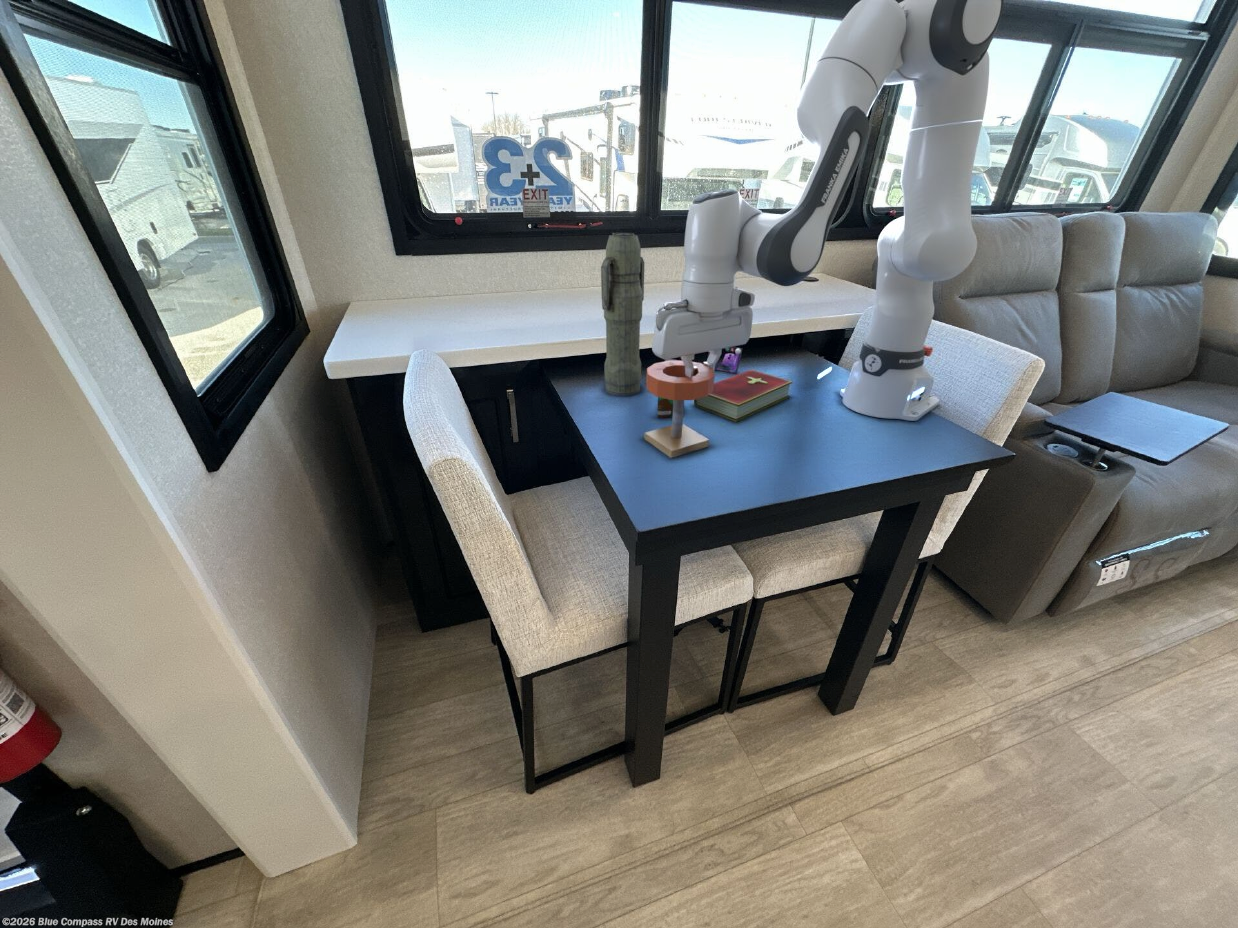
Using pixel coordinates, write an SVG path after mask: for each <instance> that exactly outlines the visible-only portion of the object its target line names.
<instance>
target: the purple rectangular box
mask: <svg viewBox="0 0 1238 928" xmlns="http://www.w3.org/2000/svg"><path fill="white" fill-rule="evenodd" d="M724 350H725V352H728V353H725V354H724V357H723V359H722V360H721V359H720V358H721V356H720V357H719V359H718V361H717V362H716V364H715V370H716V371H721V372H727V373H731V374H738V370H739V366H740V362H741V358H742V353H743V348H742V347H737V346H733V347H728V348H724ZM729 352H730V353H729ZM734 353H735V354H734ZM709 355H710V352H708V354H707V359H708V357H709ZM707 359H706V360H707ZM720 360H721V361H722V362H721V363H720ZM719 364H722V365H723V367H728V368H729V367H731V368H730V370H728V369H722V368H718V367H719Z"/></svg>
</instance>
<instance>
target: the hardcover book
mask: <svg viewBox="0 0 1238 928" xmlns="http://www.w3.org/2000/svg"><path fill="white" fill-rule="evenodd" d="M791 384H793V380H789V379H786V378H783V377H779V376H775V375H772V374H769V373H765V372H762V371H758V370H754V369H749V370H746V371H742V372H740V373H736V374H734V375H732V376H730V377H727V378H724V379H722V380H719V381H716V382H714V388H713V391H712V392H711V393H710V394H709V395H708V396H707V397H703V398H699V399H695V400H693V404H694V407H696V408H699V409H701V410H704V411H706V412H709V413H712V414H714V415H717V416H719V417H722V418H725V419H728V420H730V421H733V422H735V423H737V422H739V421H742V420H744V419H746V418H748V417H750V416H752V415H755V414H756V413H759V412H761V411H763V410H765V409H767V408H770V407H771V406H774V405H776V404H778V403H780V402H782V401H784V400H787V399H789V398H790V397H791V395H790V394H789V392H790V391H789V390H790V385H791Z"/></svg>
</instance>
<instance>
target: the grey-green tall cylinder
mask: <svg viewBox="0 0 1238 928" xmlns="http://www.w3.org/2000/svg"><path fill="white" fill-rule="evenodd" d="M641 254H642V248H641V244H640V240H639V237H638V235H636V234H635V233H634V232H612V234H611V235H608V239H607V243H606V246H605V258H604V259H603V260H602V263H601V266H600V276H601V277H600V278H601V279H600V281H601V282H600V285H601V308H602V311H603V317H604V320H605V341H606V342H605V343H606V344H605V345H606V349H605V350H606V358H605V361H604V365H603V366H604V382H605V389H604V390H605V391H606V393H608V394H610V395H613V396H617V397H628V396H633V395H636V394H639V392H641V381H642V362H641V358H640V343H641V342H640V340H641V337H640V336H641V335H640V332H641V321H642V318H643V301H644V299H645V296H644V295H645V260H644V258H643V257H642V256H641Z"/></svg>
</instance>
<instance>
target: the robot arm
mask: <svg viewBox="0 0 1238 928" xmlns="http://www.w3.org/2000/svg"><path fill="white" fill-rule="evenodd" d="M1003 10H1004V0H903V1H900V2H898V1H897V0H859V1H858V2H857V3H855V4H854V5H853V7H852V8H851V9H850V10H849V11H848V13H846V15H845V16H844V18H843V19H842V21H841V22H840V23H839V25H838V26H837V27H836V29H835V30H834V32H833V33H832V35H831V36H830V38H829V39H828V41H827V42H826V44H825V45H824V47H823V48H822V51H821V52H820V53H819V56H818V58H817V59H816V61H815V62H814V65H813V66H812V68H811V70H810V72H809V73H808V75H807V78H806V79H805V81H804V84H803V85H802V86H801V89H800V92H799V95H798V98H797V101H796V104H795V109H794V111H795V114H794V115H795V122H796V126H797V128H798V130H799V132H800V134H801V135H802V137H803V138H804V139H805V141H807V143H809V144H810V145H811V146H812V147H813V148H815V149H816V150H817V151H818V152H817V158H816V160H815V162H814V165H813V167H812V169H811V172H810V173H809V176H808V179H807V181H806V183H805V185H804V188H803V189H802V192H801V194H800V197H799V199H798V200H797V203H796V204H795V206H794V207H793V208H792V209H791V210H789V211H787V212H785V213H783V214H779V213H778V214H776V213H770V212H762V210H760V209H758V208H756V207H754V206H753V205H751V204H750V203H749V202H747V201H746V200H745V199H744V198H743V197H742V196H741V193H740V192H739V190H736V189H734V188H721V189H715V190H709V191H706V192H702V193H700V194H698V195H697V196H695V197H694V198H693V200H692V201H691V203H690V206H689V208H688V212H687V216H686V217H687V218H686V223H685V231H684V243H683V255H684V261H685V262H684V263H685V265H684V269H683V273H682V277H681V288H680V289H681V291H680V292H681V293H680V300H677V301H673V302H671V301H668V302H665V303H663V305H662V306H661V307H659V309H658V310H657V311H656V313H655V325H654V328H653V329H654V330H653V335H652V336H653V337H652V344H651V351H652V353H653V354H654V355H655V356H656V357H658V358H660V359H662V360H664V361H665V360H666V359H676V358H680V359H681V361H683V363H684V365H685V366H686V367H685V375H686V376H688V377H692V376H695V375H697V369H698V367H696V366H693V363H692V362H693V360H695V355H697V354H701V353H702V354H703V353H706V352H708V353H709V352H710V355H709V357H708V356H707V358H708V359H706V361H703V362H702V364H704V365H706V366H708V367H711V368H712V369H713V371H714V372H715V370H716V369H715V364H716V362H717V361H718V359H719V357H720V358H721V355H722V351H723V349H725V348H728V347H737V346H743V345H746V344H747V343H748V342H749V340H750V338H751V335H752V328H753V320H754V311H753V309H752V306H753V305H754V304H755V299H756V298H755V297H756V295H755V294H754V293H753V292H751V291H748V290H744V289H742V288H741V289H740V288H738V287H737V286H735V281H736V274H737V273H739V272H740V273H743V274H747V275H748V276H749V275H750V276H752V277H757V278H761V279H765V280H767V281H769V282H771V283H773V284H775V285H778V286H780V287H781V286H782V287H791V286H795V285H797V284H799V283H801V282H803V281H804V280H805V279H806V278H808V276H810V275H811V274H812V273H813V271H814V270H816V268H817V266H818V265H819V263H820V261H821V258H822V256H823V253H824V249H825V245H826V241H827V238H828V234H829V232H830V229H831V226H832V223H833V221H834V219H835V217H836V214H837V212H838V210H839V208H840V205H841V204H842V201H843V199H844V197H845V194H846V192H847V190H848V188H849V185H850V184H851V181H852V179H853V177H854V174H855V173H856V170H857V167H858V165H859V163H860V160H861V158H862V156H863V153H864V150H865V148H866V145H867V142H868V138H869V133H870V121H869V118H868V116H869V114H870V111H871V109H872V107H873V105H874V103H875V101H876V99H877V98H878V96H879V95H880V92H881V90H882V89H884V88H888V87H891V86H893V85H900V84H906V83H911V82H912V83H913V86H914V91H915V96H914V100H913V105H912V110H911V113H910V117H909V122H908V128H907V136H906V141H905V147H904V154H903V160H902V166H901V172H900V180H899V181H900V187H901V189H902V196H903V215H902V216H900V217H897V218H896V219H893V220H892V221H890V222H889V223H888V224H887V225H886V226H884V228H883V229H882V231H881V232H880V234H879V235H878V239H877V244H876V251H877V256H878V257H877V258H878V259H877V269H876V271H877V272H876V283H875V284H876V285H875V299H874V305H873V310H872V313H871V314H872V315H871V319H870V322H869V326H868V330H867V334H866V339H865V340H864V341H863V342H862V346H861V347H860V350H859V352H860V353H859V360H857V361H855V362H854V363H853V365H852V367H851V371H850V374H849V376H848V380H847V382H846V384H845V388H842V389H840V391H839V395H840V396H841V397H842V403H843V405H844V406H845V407H846V408H848V409H850V410H851V411H854V412H856V413H859V414H862V415H864V416H869V417H874V418H881V419H889V420H890V419H891V420H893V419H896V420H903V421H909V422H917V421H919V420H920V419H921V418H923V417H924V416H925V415H927V414H928V413H930V411H932V410H934V409H935V408H937V406H939V405H940V401H941V400H940V399H939V398H937V397H936V396H935V395H932V394H931V392H932V389H933V385H934V377H933V376H932V375H931V374H930V372H929V371H928V370H927V368H925V366H924V364H925V363H924V362H925V357H931V355H932V354H933V352H934V347H932V346H927V345H925V344H926V340H927V336H928V334H929V331H930V327H931V324H932V322H933V318H934V314H935V303H934V298H933V297H934V295H933V294H934V293H933V290H934V283H935V282H944V281H947V280H951V279H953V278H955V277H957V276H958V275H960V274H961V273H963V272H964V271H965V270H966V269H967V268H968V267H969V266H970V265H971V263H972V261H973V260H974V258H975V255H976V253H977V249H978V239H977V235H976V233H975V231H974V228H973V223H972V177H973V170H974V164H975V159H976V155H977V150H978V145H979V140H980V135H981V131H982V126H983V120H984V116H985V112H986V106H987V100H988V92H989V80H990V79H989V78H990V54H989V52H988V50H989V48H990V46H991V43H992V41H993V39H994V37H995V35H996V34H997V31H998V28H999V25H1000V23H1001V19H1002V14H1003ZM719 360H720V359H719ZM832 369H833V367H832V366H830V367H829V368H827V369H825V370H823V371H822V372H820V373H819V374H818V375H817V380H820V379H821V378H823V377H824V376H826V375H827V374H829V373H830V372H831V371H832Z"/></svg>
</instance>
